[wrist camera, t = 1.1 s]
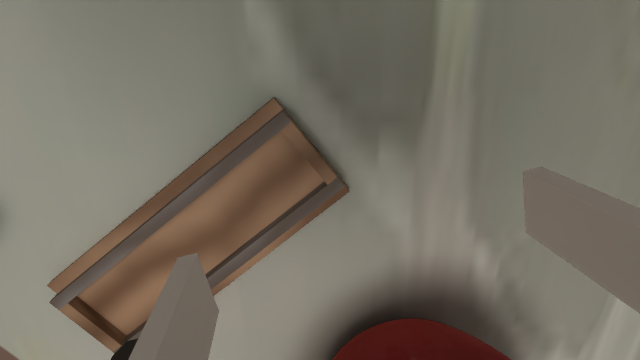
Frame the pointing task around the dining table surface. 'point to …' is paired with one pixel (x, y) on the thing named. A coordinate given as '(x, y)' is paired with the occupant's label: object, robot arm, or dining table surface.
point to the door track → (201, 225)
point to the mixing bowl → (416, 343)
